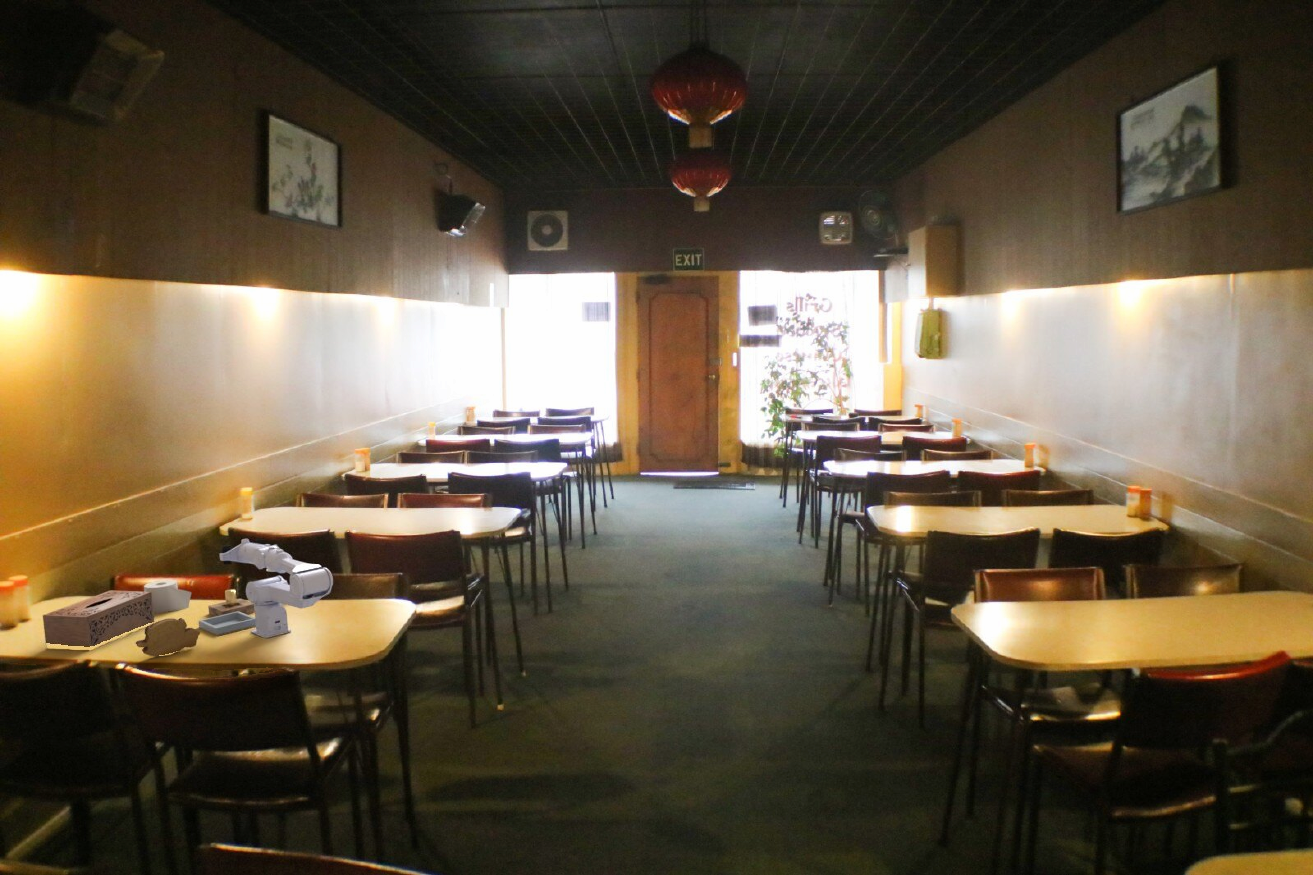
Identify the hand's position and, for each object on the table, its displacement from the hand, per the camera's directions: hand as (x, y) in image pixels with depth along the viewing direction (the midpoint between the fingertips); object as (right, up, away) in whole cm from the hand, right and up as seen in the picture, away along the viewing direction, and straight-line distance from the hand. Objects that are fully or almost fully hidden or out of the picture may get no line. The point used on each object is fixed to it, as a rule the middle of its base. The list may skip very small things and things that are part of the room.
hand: (233, 550), depth 315 cm
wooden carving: (-6, -26, -28) cm, 39 cm away
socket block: (-4, -21, +8) cm, 23 cm away
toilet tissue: (-27, -21, +16) cm, 38 cm away
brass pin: (-4, -20, +8) cm, 22 cm away
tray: (+1, -22, -6) cm, 23 cm away
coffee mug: (+7, -18, +24) cm, 31 cm away
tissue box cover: (-35, -24, -9) cm, 43 cm away
